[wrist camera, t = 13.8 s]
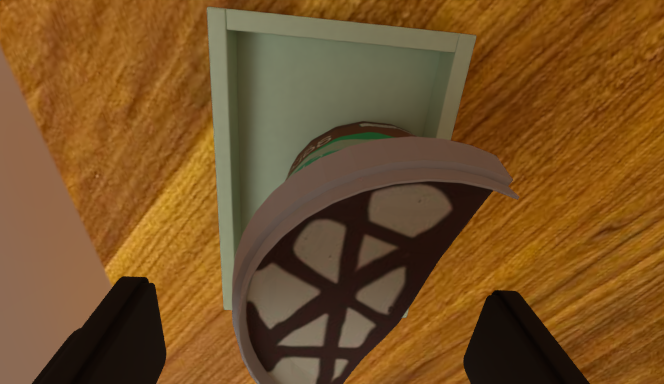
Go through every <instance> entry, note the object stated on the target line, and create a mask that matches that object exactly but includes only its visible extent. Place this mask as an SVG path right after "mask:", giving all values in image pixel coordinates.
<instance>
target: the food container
mask: <svg viewBox="0 0 664 384" xmlns="http://www.w3.org/2000/svg"><path fill="white" fill-rule="evenodd" d="M512 181H513V179H512V178H511V176H510V175H509V173H508V172H507V171H506V169H505V168H504V166H503V165H502V163H501V162H500V161H499V159H498V158H497V156H496V155H493V154H491V153H488V152H486V151H484V150H481V149H479V148H476V147H474V146H472V145H467V144H463V143H459V142H455V141H450V140H446V139H441V138H426V137H418V136H416V135H414V134H413V133H411V132H409V131H407V130H404V129H402V128H399V127H397V126H394V125H392V124H386V123H376V122H366V121H361V122H356V123H351V124H347V125H342V126H337V127H334V128H332V129H331V130H329V131H327V132H325V133H324V134H322V135H320V136H318V137H317V138H315V139H313V140H311V142H310V143H309V144H308V145H307V146H306V147H305V148H304V149H303V150H302V151H301V152H300V153H299V154H298V156H297V157H296V159H295V161H294V162H293V164H292V166H291V168H290V170H289V173H288V175H287V178H286V180H285V182H284V183H282V184H281V185H280V186H279V187H278V188H276V189H275V190H274V191H273V192H272V193H271V194H270V195H269V197H268V198H267V199H266V200H265V201H264V202H263V204H262V205H261V206H260V207H259V208H258V209H257V211H256V212H255V213H254V215H253V217H252V219H251V220H250V222H249V224H248V225H247V227H246V229H245V231H244V232H243V235H242V237H241V240H240V243H239V246H238V249H237V252H236V254H235V261H234V268H233V275H232V318H233V327H234V330H235V334H236V338H237V341H238V345H239V348H240V352H241V356H242V359H243V361H244V363H245V365H246V367H247V369H248V371H249V373H250V375H251V377H252V378H253V379H254V380H255V382H256V383H257V384H343V383H344V382H345V380H346V379H347V377H348V376H349V375H350V374H351V372H352V371H353V370H354V369H355V368H356V366H357V365H358V364H359V363H360V361H361V360H362V359H363V358H364V357H365V356H366V355H367V354H368V353H369V352H370V351H371V350H372V349H373V348H374V347H375V346H376V345H378V344H379V343H380V342H381V341H382V340H383V339H384V338H385V337H386V336H387V335H388V334H389V332H390V331H391V330H392V329H393V328H394V327H395V326H396V325H397V324H398V323H399V322H400V320H401V319H402V317H403V316H404V314H405V313H406V311H407V310H408V308H409V307H410V305H411V304H412V302H413V301H414V299H415V297H416V296H417V294H418V293H419V291H420V289H421V288H422V286H423V284H424V283H425V281H426V279H427V278H428V276H429V275H430V273H431V272H432V270H433V269H434V267H435V266H436V264H437V263H438V261H439V259H440V258H441V257H442V255H443V254H444V253H445V252H446V250H447V249H448V248H449V246H450V245H451V244H452V242H453V241H454V240H455V239H456V237H457V236H458V235H459V233H460V232H461V231H462V229H463V228H464V227H465V225H466V224H467V223H468V222H469V220H470V219H471V218H472V216H473V215H474V214H475V213H476V211H477V210H478V209H479V208H480V206H481V205H482V204H483V203H484V201H485V200H486V199H487V197H488V196H489V195H490V194H491V192H492V191H493V190H494V191H497V192H499V193H502V194H504V195H507V196H510V197H512V198H515V199H517V200H518V198H519V196H518V195H517V194H516V193H515V192H513V191H512V190H511V189H510V188H509V187H508V185H509V184H510V183H511V182H512Z"/></svg>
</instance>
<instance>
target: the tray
mask: <svg viewBox="0 0 664 384" xmlns="http://www.w3.org/2000/svg"><path fill="white" fill-rule="evenodd" d="M207 22H208V39H209V57H210V75H211V93H212V110H213V128H214V146H215V164H216V181H217V199H218V217H219V234H220V252H221V270H222V288H223V305H224V310H232V275H233V268H234V261H235V254H236V252H237V249H238V246H239V243H240V240H241V237H242V235H243V232H244V231H245V229H246V227H247V225H248V224H249V222H250V220H251V219H252V217H253V215H254V213H255V212H256V211H257V209H258V208H259V207H260V206H261V205H262V204H263V202H264V201H265V200H266V199H267V198H268V197H269V195H270V194H271V193H272V192H273V191H274V190H275V189H276V188H278V187H279V186H280V185H281V184H282V183H284V182H285V180H286V178H287V175H288V173H289V170H290V168H291V166H292V164H293V162H294V161H295V159H296V157H297V156H298V154H299V153H300V152H301V151H302V150H303V149H304V148H305V147H306V146H307V145H308V144H309V143H310V142H311V140H313V139H315V138H317V137H318V136H320V135H322V134H324V133H325V132H327V131H329V130H331V129H332V128H334V127H337V126H342V125H347V124H351V123H356V122H361V121H366V122H376V123H386V124H392V125H394V126H397V127H399V128H402V129H404V130H407V131H409V132H411V133H413V134H414V135H416V136H418V137H426V138H441V139H446V140H450V141H451V137H452V133H453V129H454V125H455V121H456V117H457V113H458V109H459V105H460V101H461V97H462V93H463V88H464V84H465V80H466V76H467V72H468V68H469V64H470V60H471V56H472V52H473V48H474V44H475V40H476V35H471V34H462V33H453V32H443V31H434V30H424V29H415V28H406V27H396V26H387V25H377V24H368V23H358V22H349V21H340V20H330V19H321V18H311V17H302V16H293V15H283V14H274V13H264V12H255V11H246V10H236V9H225V8H217V7H207ZM408 309H409V308H408ZM407 313H408V310H407V311H406V313H405V314H404V316H403V317H402V318H406V317H407Z"/></svg>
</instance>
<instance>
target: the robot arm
mask: <svg viewBox="0 0 664 384" xmlns="http://www.w3.org/2000/svg"><path fill="white" fill-rule="evenodd" d="M165 360H166V347H165V341H164V335H163V329H162V324H161V318H160V312H159V306H158V300H157V295H156V289H155V285H154V284H153V283H149V281H148V279H147V278H146V277H126V276H123V277H121V278H120V279H119V280H118V281H117V282H116V284H115V285H114V286H113V287H112V289H111V290H110V291H109V293H108V294H107V295H106V296H105V298H104V299H103V300H102V302H101V303H100V304H99V306H98V307H97V308H96V309H95V311H94V312H93V313H92V315H91V316H90V317H89V319H88V320H87V321H86V322H85V324H84V325H83V327H82V328H79V329H78V330H76V331H74V332H73V333H72V334H71V335H70V336H69V337H68V338H67V340H66V341H65V342H64V343H63V345H62V346H61V347H60V349H59V350H58V351H57V352H56V354H55V355H54V356H53V357H52V359H51V360H50V361H49V363H48V364H47V365H46V366H45V368H44V369H43V370H42V371H41V373H40V374H39V375H38V376H37V378H36V379H35V380H34V382H33V383H32V384H156V383H157V381H158V378H159V376H160V374H161V371H162V369H163V367H164V364H165ZM463 363H464V369H465V372H466V374H467V376H468V378H469V381H470V383H471V384H590V383H589V382H588V381H587V379H586V378H585V377H584V376H583V374H582V373H581V372H580V370H579V369H578V368H577V367H576V365H575V364H574V363H573V361H572V360H571V359H570V358H569V356H568V355H567V354H566V352H565V351H564V350H563V349H562V347H561V346H560V345H559V344H558V342H557V341H556V340H555V338H554V337H553V336H552V335H551V333H550V332H549V331H548V329H547V328H546V327H545V326H544V324H543V323H542V322H541V320H540V319H539V318H538V317H537V315H536V314H535V313H534V312H533V310H532V309H531V308H530V306H529V305H528V304H527V303H526V301H525V300H524V299H523V297H522V296H521V295H520V294H519V293H518V292H516V291H503V290H495V291H494V292H493V293H492V295H489V296H488V297H487V298H486V301H485V303H484V306H483V309H482V311H481V314H480V316H479V319H478V322H477V324H476V327H475V329H474V332H473V335H472V337H471V340H470V342H469V345H468V348H467V350H466V353H465V355H464V360H463Z"/></svg>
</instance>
